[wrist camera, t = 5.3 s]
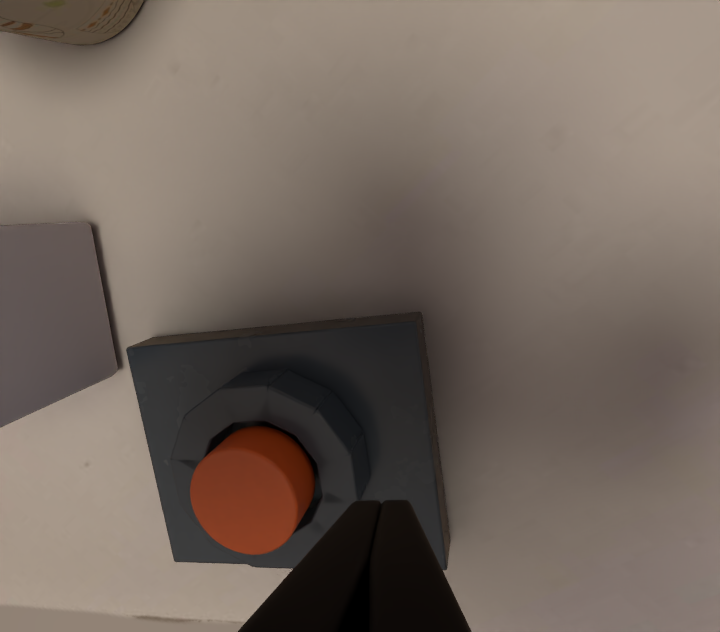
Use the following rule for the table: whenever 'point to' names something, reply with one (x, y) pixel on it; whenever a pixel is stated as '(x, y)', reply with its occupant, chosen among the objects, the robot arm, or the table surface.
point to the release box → (297, 420)
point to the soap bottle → (50, 316)
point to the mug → (67, 19)
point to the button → (253, 490)
